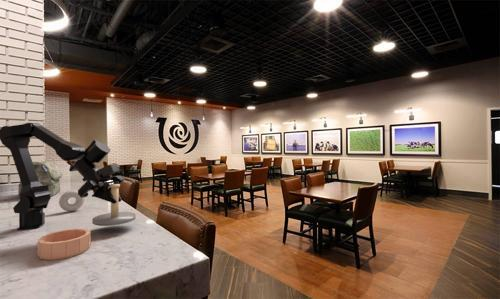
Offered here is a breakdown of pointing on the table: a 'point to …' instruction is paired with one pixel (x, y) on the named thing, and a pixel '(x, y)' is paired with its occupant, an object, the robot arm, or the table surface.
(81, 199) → the donut
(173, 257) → the table surface
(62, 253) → the bowl
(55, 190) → the lunch bag
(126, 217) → the cover
